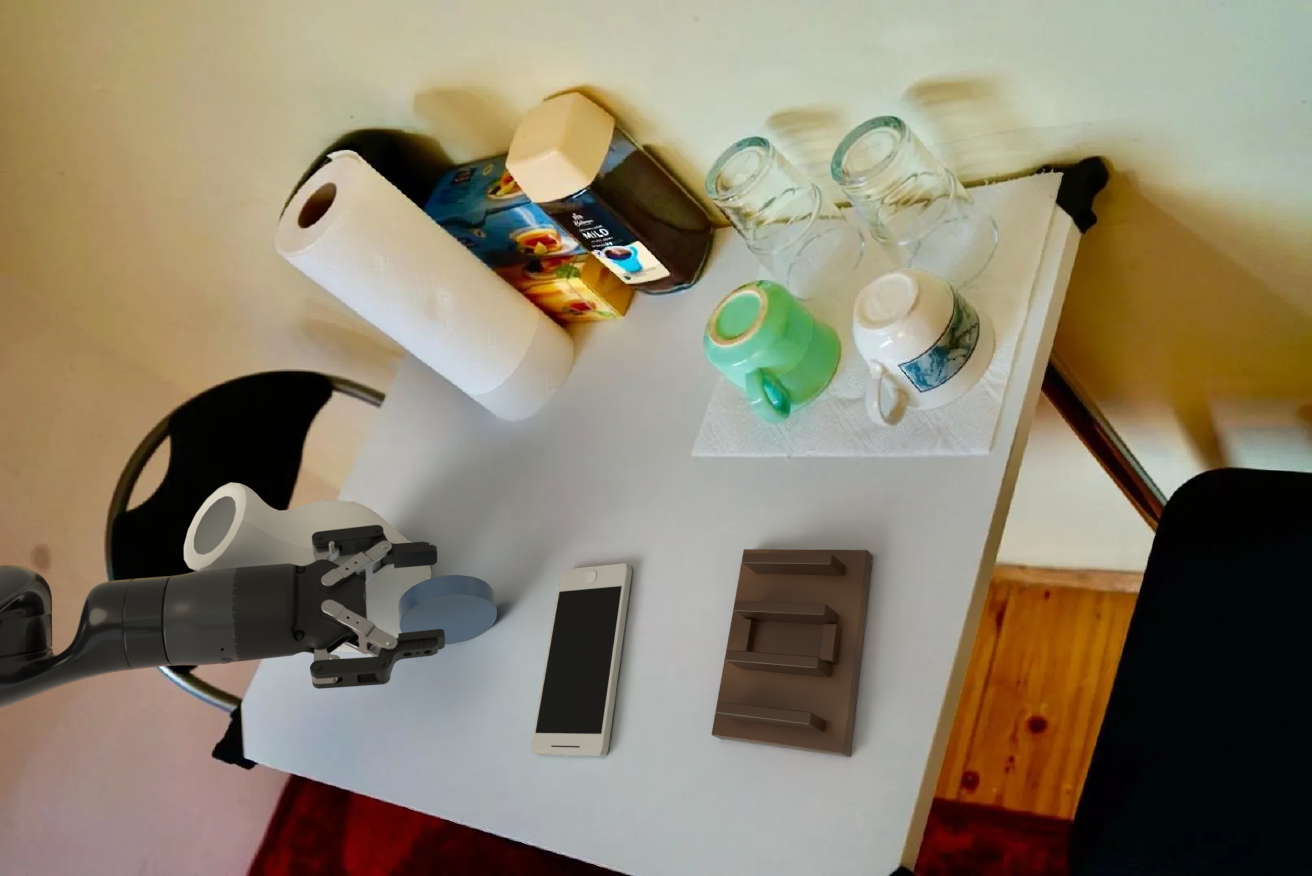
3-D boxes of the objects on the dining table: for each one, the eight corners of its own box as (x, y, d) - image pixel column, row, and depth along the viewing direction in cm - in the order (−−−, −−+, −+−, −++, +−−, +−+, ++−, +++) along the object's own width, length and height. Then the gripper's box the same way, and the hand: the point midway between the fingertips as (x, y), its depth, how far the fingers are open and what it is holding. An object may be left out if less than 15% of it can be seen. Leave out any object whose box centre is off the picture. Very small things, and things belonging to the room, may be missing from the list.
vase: (453, 525, 90) (290, 437, 76) (419, 666, 84) (233, 599, 70) (360, 538, 98) (195, 461, 84) (322, 669, 92) (136, 609, 77)
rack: (850, 757, 59) (828, 746, 56) (719, 738, 64) (693, 728, 62) (873, 555, 64) (854, 537, 62) (750, 554, 70) (728, 537, 67)
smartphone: (633, 566, 75) (626, 562, 75) (607, 757, 68) (600, 754, 68) (566, 572, 79) (560, 569, 78) (536, 754, 72) (528, 752, 71)
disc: (516, 613, 80) (451, 583, 74) (446, 654, 83) (378, 627, 77) (513, 594, 82) (449, 563, 76) (444, 635, 84) (377, 607, 78)
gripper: (222, 671, 65) (449, 646, 70) (234, 516, 74) (435, 503, 79) (236, 717, 71) (446, 691, 75) (246, 567, 79) (433, 552, 84)
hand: (440, 595), depth 77 cm, fingers open, 8 cm apart
